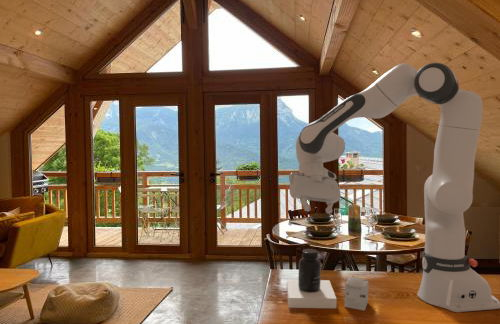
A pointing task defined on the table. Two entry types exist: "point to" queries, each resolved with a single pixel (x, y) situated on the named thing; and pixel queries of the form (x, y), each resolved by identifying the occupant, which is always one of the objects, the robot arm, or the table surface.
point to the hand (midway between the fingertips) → (318, 211)
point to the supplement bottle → (309, 271)
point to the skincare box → (356, 293)
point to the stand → (311, 296)
